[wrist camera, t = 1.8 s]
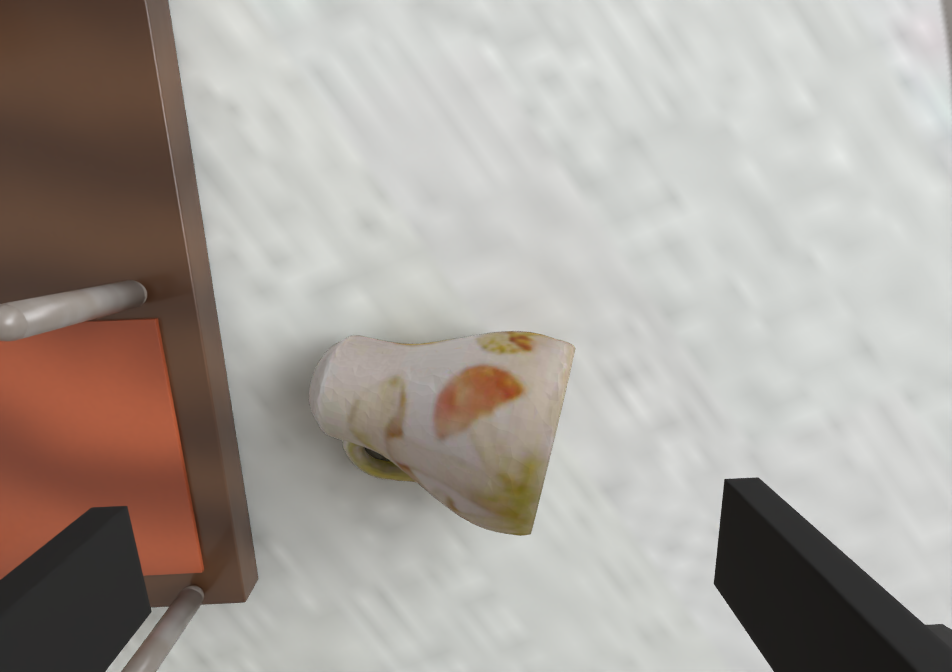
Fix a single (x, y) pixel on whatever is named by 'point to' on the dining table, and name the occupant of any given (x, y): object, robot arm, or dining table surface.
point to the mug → (450, 417)
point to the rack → (112, 309)
